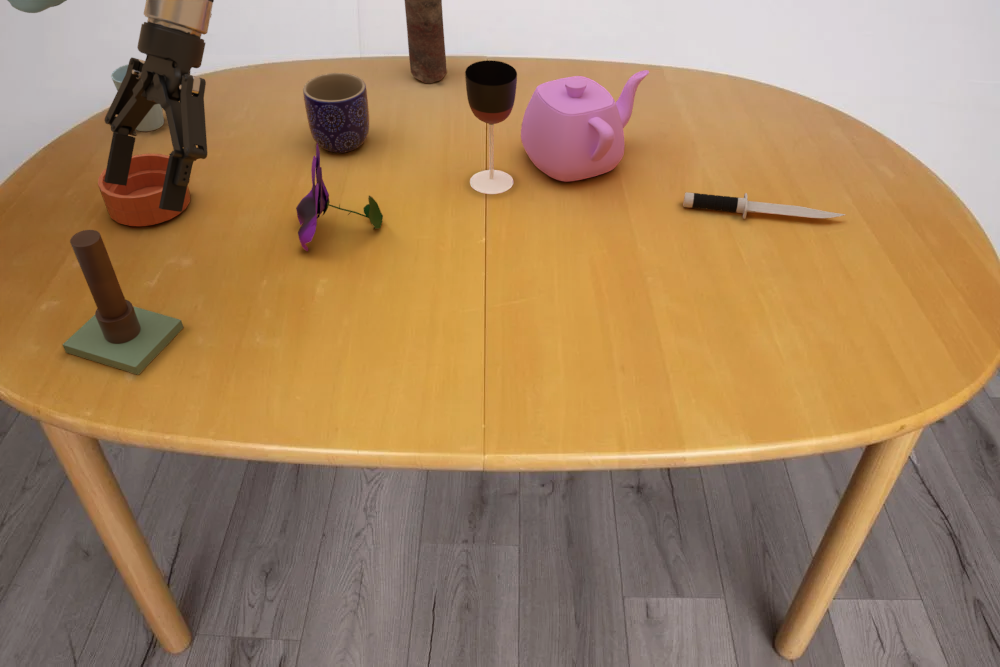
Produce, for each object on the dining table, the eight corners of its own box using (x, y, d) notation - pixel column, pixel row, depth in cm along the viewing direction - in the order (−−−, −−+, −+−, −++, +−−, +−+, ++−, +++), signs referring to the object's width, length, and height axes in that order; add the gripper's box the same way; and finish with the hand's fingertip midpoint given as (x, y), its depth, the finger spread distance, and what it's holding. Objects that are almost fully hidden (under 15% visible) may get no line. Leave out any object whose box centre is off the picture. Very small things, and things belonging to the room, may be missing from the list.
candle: (402, 76, 178) (394, -23, 165) (427, 63, 182) (421, -34, 169) (429, 87, 175) (423, -13, 161) (454, 74, 179) (450, -24, 165)
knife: (684, 201, 142) (685, 184, 145) (682, 214, 143) (683, 197, 147) (850, 218, 138) (847, 201, 142) (846, 231, 140) (842, 213, 143)
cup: (165, 134, 161) (150, 81, 154) (123, 135, 161) (105, 83, 154) (174, 113, 167) (159, 62, 160) (133, 115, 166) (117, 63, 159)
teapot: (561, 208, 144) (567, 126, 134) (507, 147, 158) (508, 69, 148) (678, 176, 151) (691, 96, 141) (616, 120, 165) (624, 44, 155)
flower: (362, 228, 148) (284, 205, 142) (397, 156, 141) (317, 128, 134) (370, 282, 138) (287, 260, 132) (409, 207, 130) (322, 180, 124)
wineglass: (501, 163, 154) (502, 56, 140) (523, 189, 148) (526, 79, 135) (460, 174, 152) (456, 66, 138) (481, 200, 146) (479, 90, 132)
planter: (304, 157, 156) (294, 99, 148) (320, 126, 164) (312, 70, 156) (364, 161, 155) (357, 103, 147) (378, 129, 163) (372, 73, 155)
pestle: (96, 338, 119) (56, 244, 108) (119, 316, 122) (82, 223, 111) (125, 347, 118) (87, 253, 107) (148, 325, 121) (113, 231, 110)
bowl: (92, 219, 142) (80, 187, 138) (143, 177, 151) (133, 147, 146) (159, 236, 138) (148, 204, 134) (207, 193, 147) (198, 162, 143)
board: (65, 352, 119) (61, 344, 118) (113, 307, 126) (110, 299, 125) (138, 375, 116) (135, 367, 115) (184, 327, 123) (181, 319, 122)
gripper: (260, 52, 103) (222, 225, 108) (150, 24, 118) (120, 177, 122) (205, 34, 98) (167, 218, 102) (96, 6, 112) (66, 169, 116)
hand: (141, 196), depth 112 cm, fingers open, 13 cm apart
